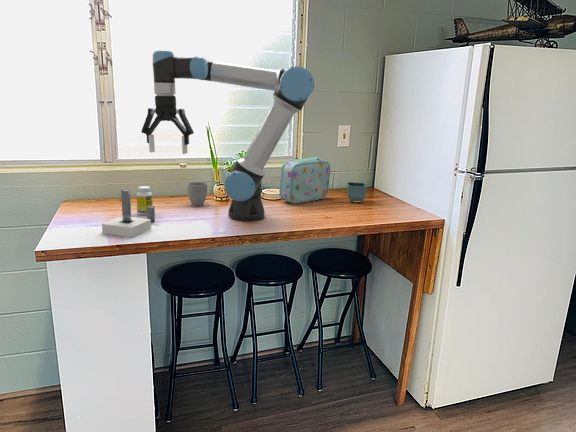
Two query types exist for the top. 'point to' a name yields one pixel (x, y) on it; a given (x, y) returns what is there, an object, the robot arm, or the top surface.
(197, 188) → the mug
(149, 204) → the pill bottle
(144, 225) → the socket block
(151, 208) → the short pin
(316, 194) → the lunch box
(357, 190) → the flower pot
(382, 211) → the top surface
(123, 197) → the long pin
